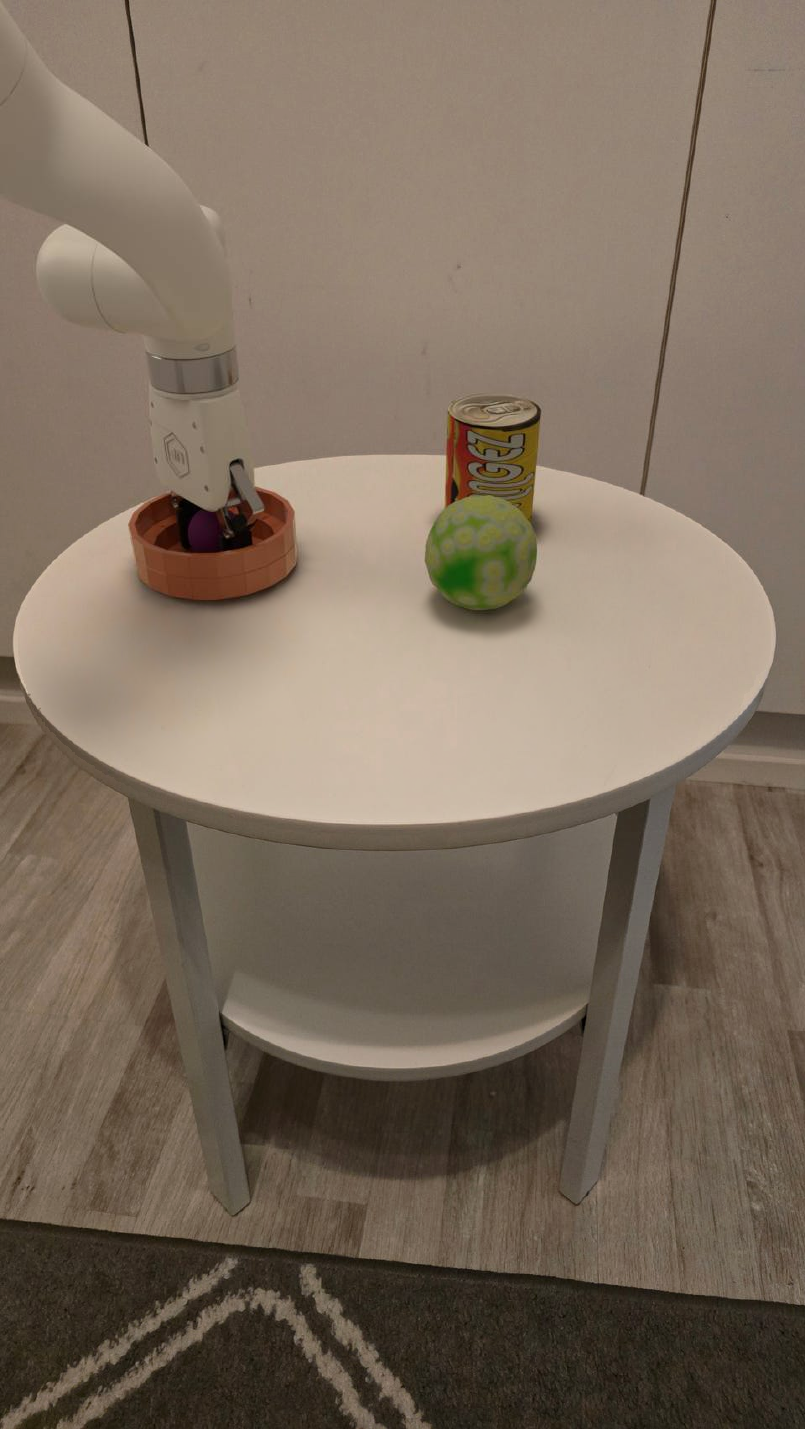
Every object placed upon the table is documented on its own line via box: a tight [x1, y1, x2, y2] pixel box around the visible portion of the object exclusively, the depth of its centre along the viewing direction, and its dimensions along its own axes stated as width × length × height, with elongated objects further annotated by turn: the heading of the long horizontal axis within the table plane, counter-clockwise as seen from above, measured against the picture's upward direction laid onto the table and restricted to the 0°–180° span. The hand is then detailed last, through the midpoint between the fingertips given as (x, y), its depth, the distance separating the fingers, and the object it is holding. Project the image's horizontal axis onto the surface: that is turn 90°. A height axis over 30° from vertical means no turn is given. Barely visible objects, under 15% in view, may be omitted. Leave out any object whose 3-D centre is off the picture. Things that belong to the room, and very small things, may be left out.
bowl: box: [127, 486, 298, 601], centre depth 93 cm, size 15×15×5 cm
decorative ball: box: [424, 495, 538, 611], centre depth 86 cm, size 10×10×10 cm
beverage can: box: [444, 393, 542, 525], centre depth 98 cm, size 9×9×12 cm
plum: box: [188, 509, 235, 553], centre depth 93 cm, size 5×5×5 cm
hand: (217, 555), depth 94 cm, fingers open, 6 cm apart
